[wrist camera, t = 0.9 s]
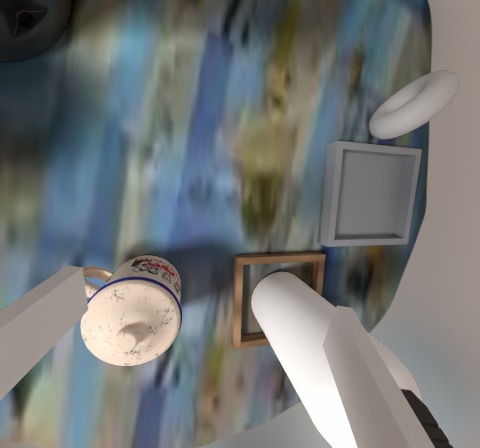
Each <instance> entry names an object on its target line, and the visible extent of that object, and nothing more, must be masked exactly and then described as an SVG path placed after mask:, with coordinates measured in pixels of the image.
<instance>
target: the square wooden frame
mask: <svg viewBox="0 0 480 448" xmlns="http://www.w3.org/2000/svg"><path fill="white" fill-rule="evenodd" d="M311 261H313V273H312V284H311V289H313V290H314V291H315V292H317V293H318V294H319V295H320V296H322V287H323V276H324V265H325V254H323V253H321V252H303V253H276V254H248V255H234V283H233V315H232V346H233V349H241V348H248V347H255V346H263V345H270V342H269V341H268V339H267V337H266V335H265V333H259V334H251V335H243V336H241V315H242V289H243V265H248V264H269V263H290V262H311Z"/></svg>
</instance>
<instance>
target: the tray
mask: <svg viewBox="0 0 480 448" xmlns="http://www.w3.org/2000/svg"><path fill="white" fill-rule="evenodd" d="M421 153H422V149H413V148H404V147H394V146H384V145H374V144H364V143H355V142H345V141H335V142H332V143H329V144H327V145H326V157H325V168H324V179H323V191H322V202H321V213H320V224H319V236H318V243H320V244H322V245H324V246H327V247H337V246H370V245H403V244H408V239H409V233H410V226H411V220H412V213H413V206H414V200H415V193H416V186H417V180H418V173H419V166H420V160H421Z"/></svg>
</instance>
